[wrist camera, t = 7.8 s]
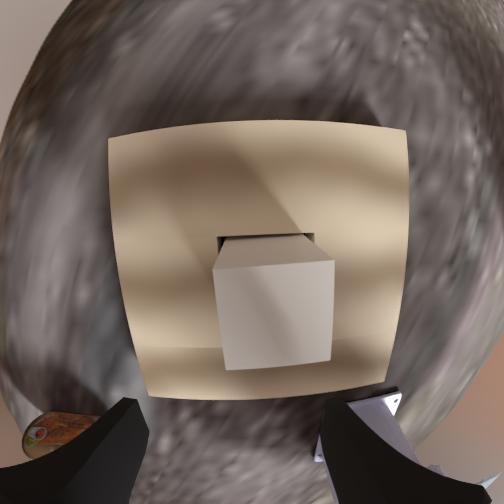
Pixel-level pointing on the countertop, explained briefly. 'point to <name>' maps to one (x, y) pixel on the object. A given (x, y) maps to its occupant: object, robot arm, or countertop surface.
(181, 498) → the countertop surface
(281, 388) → the socket plate
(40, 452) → the tin
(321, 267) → the keyed peg
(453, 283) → the countertop surface
